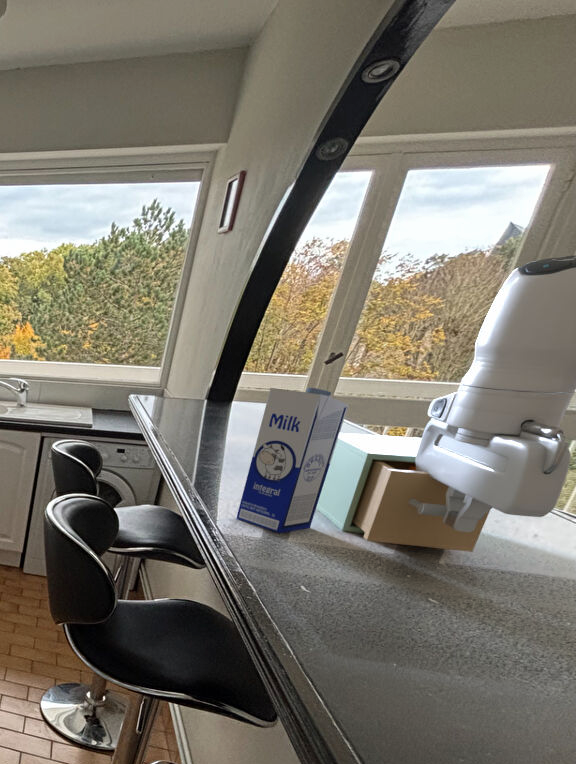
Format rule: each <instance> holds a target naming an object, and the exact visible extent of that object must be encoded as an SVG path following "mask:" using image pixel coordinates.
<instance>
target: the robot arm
mask: <svg viewBox="0 0 576 764" xmlns="http://www.w3.org/2000/svg"><path fill="white" fill-rule="evenodd" d="M474 349H475V350H474V359H473V363H472V365H471V367H470V369H469V370H468V371H467V373H466V374H465V375H464V376H463V377H462V379H461V381H460V385H459V387H458V389H457V392H453V393H451V394H448V395H445V396H442V397H441V396H440V397H438V398H435V399H433V400H432V401H431V402H430V404H429V407H428V410H427V416H428V417H429V418H430V420H429V421H428V422H427V424H426V425H425V428H424V430H423V433H422V435H421V437H420V438H421V441H420V444H419V448H418V451H417V455H416V459H415V463H416V470H417V471H423V472H427V473H429V474H430V477H431V478H433V479H435V480H437V481H439V482H441V483H443V484H445V485H447V486H449V487H448V490H447V492H446V509H447V511H446V514H445V516H444V519H443V522H444V523H445V524H446V525H448V526H450V527H452V528H453V529H455V530H457V531H461V532H472V531H473V530H474V529H475V527H476V524H477V522H478V520H479V519H480V518H481V517H482V516H484V515H485V514H486V513H487V512H488V511H489V510H490V509H491V510H492V509H494V510H496V511H498V512H500V513H502V514H506V515H511V516H519V517H531V518H532V517H533V518H543V517H545V516H546V515H548V514H549V513H551V512H552V511H553V510H554V509H555V508H556V506H557V504H558V500H559V499H560V495H561V493H562V490H563V488H564V485H565V481H566V479H567V475H568V472H569V468H570V465H571V461H572V459H571V458H572V455H571V451H570V448H569V442H568V441H567V440H566V436H565V431H564V430H563V429H562V428H560V425H561V423H562V421H563V418H564V416H565V415H566V413H567V410H568V408H569V405H570V403H571V401H572V399H573V397H574V394H575V392H576V255H567V256H561V257H550V258H544V259H539V260H534V261H531V262H528V263H525V264H524V265H521V266H519V267H517V268H515V269H514V270H513V271H512V272H511V274H510V275H509V276H508V278H507V279H506V280H505V281H504V283H503V285H502V287H500V290H499V291H498V293H497V295H496V296H495V299H494V300H493V303H492V304H491V307H490V309H489V310H488V313H487V315H486V317H485V319H484V321H483V324H482V326H481V328H480V331H479V333H478V337H477V339H476V341H475V345H474ZM491 510H490V511H491Z"/></svg>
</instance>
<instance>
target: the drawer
mask: <svg viewBox="0 0 576 764" xmlns="http://www.w3.org/2000/svg"><path fill="white" fill-rule="evenodd" d="M410 465H416V463H415V462H403V461H390V460H376V459H373V460H372V463H371V466H370V469H369V472H368V475H367V478H366V481H365V484H364V487H363V490H362V493H361V496H360V498H359V501H358V504H357V507H356V510H355V513H354V516H353V519H352V522H353V523H354V524H356V525H357V526H358V527H359V528H361V529H362V530H363V531H364V532H365V533H363V534H364V535H363V539H364V540H365V541H369V542H379V543H385V544H396V545H405V546H415V547H416V546H417V547H424V548H432V549H443V550H451V551H452V550H453V551H462V552H470V553H472V552H473V551H474V549H475V547H476V544H477V541H478V540H479V536H480V535H481V533H482V531H483V528H484V526H485V524H486V521H487V519H488V516H489V514H490V512H491V510H492V509H490V510H489V511H488V512H487V513H486V514H485V515H484V516H482V517H481V518H480V519H479V520H478V522H477V524H476V527H475V529H474V530H473V531H472V532H461V531H457V530H455V529H453V528H452V527H450V526H448V525H446V524H445V523H444V522H443V519H444V516H445V514H446V511H447V509H446V492H447V490H448V487H449V486H447V485H445V484H443V483H441V482H439V481H437V480H435V479H433V478H431V477H430V474H429V473H427V472H423V471H410V470H408V469H409V466H410Z"/></svg>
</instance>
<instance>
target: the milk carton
mask: <svg viewBox="0 0 576 764" xmlns="http://www.w3.org/2000/svg"><path fill="white" fill-rule="evenodd" d="M331 394H332V392H331V391H329V390H326V389H323V388H322V389H320V388H317V387H307V389H306V392H305V391H299V390H298V391H297V390H290V389H283V388H277V387H276V388H275V387H269V393H268V396H267V399H266V404H265V408H264V411H263V416H262V419H261V422H260V427H259V430H258V435H257V438H256V442H255V445H254V450H253V453H252V458H251V461H250V463H249V464H250V465H249V468H248V472H247V476H246V480H245V484H244V487H243V491H242V496H241V499H240V503H239V505H238V506H239V507H238V511H237V514H236V520H240V521H242V522H245V523H248V524H250V525H254V526H257V527H260V528H262V529H266V530H268V531H271V532H274V533H277V534H284V533H289V532H295V531H300V530H306V529H310V528H311V526H312V522H313V520H314V516H315V513H316V510H317V509H316V507H317V504H318V501H319V497H320V494H321V491H322V488H323V485H324V481H325V478H326V475H327V472H328V469H329V466H330V462H331V459H332V456H333V453H334V450H335V446H336V443H337V440H338V437H339V434H340V433H341V430H342V427H343V424H344V420H345V418H346V415H347V411H348V408H349V406H350V404H347V403H345V402H343V401H341V400H339V399H337V398H335V397H332V396H331Z"/></svg>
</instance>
